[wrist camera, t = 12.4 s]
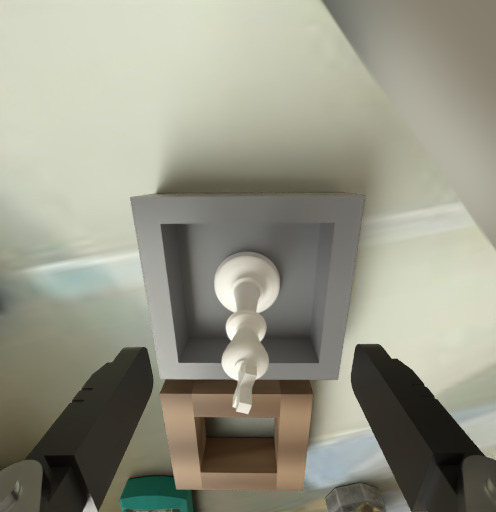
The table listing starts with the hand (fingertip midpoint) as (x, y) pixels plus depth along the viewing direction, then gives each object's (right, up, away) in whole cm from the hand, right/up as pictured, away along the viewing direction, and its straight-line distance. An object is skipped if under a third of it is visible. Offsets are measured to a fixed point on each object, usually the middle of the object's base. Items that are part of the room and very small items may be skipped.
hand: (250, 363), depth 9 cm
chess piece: (0, +2, +9) cm, 9 cm away
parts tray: (0, +2, +9) cm, 9 cm away
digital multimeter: (-10, -28, +20) cm, 36 cm away
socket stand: (-1, -11, +14) cm, 18 cm away
